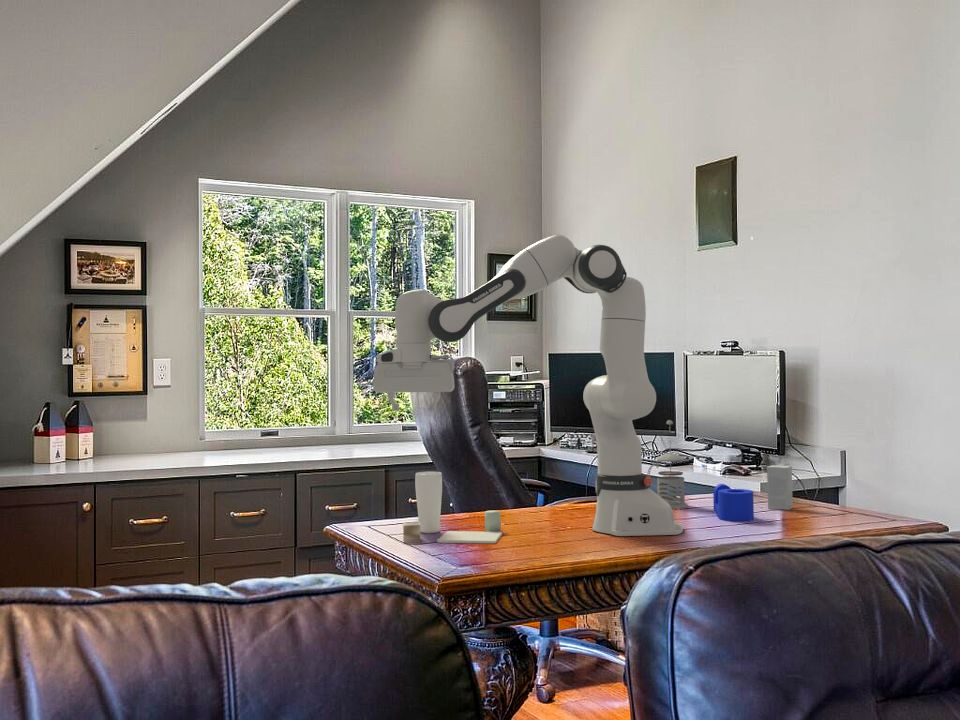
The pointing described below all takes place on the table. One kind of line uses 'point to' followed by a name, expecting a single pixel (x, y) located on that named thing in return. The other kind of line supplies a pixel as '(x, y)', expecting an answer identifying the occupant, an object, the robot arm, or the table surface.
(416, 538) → the ash block
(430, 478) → the drinking glass
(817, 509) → the table surface
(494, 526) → the sage cylinder
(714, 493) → the bracket
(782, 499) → the skincare box
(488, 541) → the cream mat
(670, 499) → the french press
